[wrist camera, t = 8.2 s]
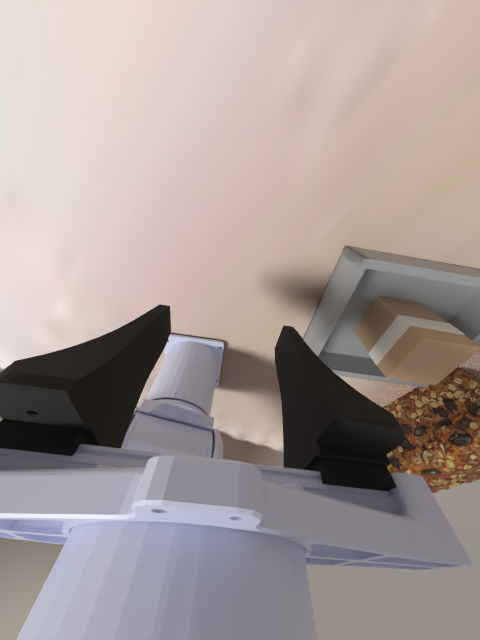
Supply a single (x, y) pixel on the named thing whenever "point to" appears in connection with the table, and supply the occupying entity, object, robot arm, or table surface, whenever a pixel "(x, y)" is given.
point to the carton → (412, 341)
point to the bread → (440, 432)
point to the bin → (395, 282)
